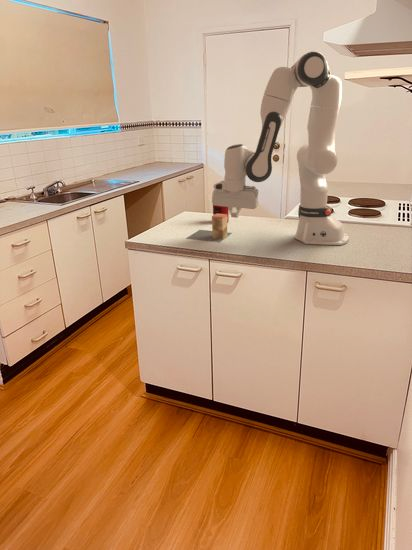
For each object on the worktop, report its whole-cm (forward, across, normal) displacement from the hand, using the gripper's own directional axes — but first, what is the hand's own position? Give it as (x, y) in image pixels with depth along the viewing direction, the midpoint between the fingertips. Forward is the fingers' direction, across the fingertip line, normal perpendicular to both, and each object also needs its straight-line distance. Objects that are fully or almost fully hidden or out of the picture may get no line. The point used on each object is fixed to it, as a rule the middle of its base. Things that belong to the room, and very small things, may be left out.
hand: (234, 217), depth 177 cm
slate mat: (+10, +13, 0) cm, 16 cm away
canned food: (+11, +17, -23) cm, 31 cm away
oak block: (+10, +7, 0) cm, 12 cm away
